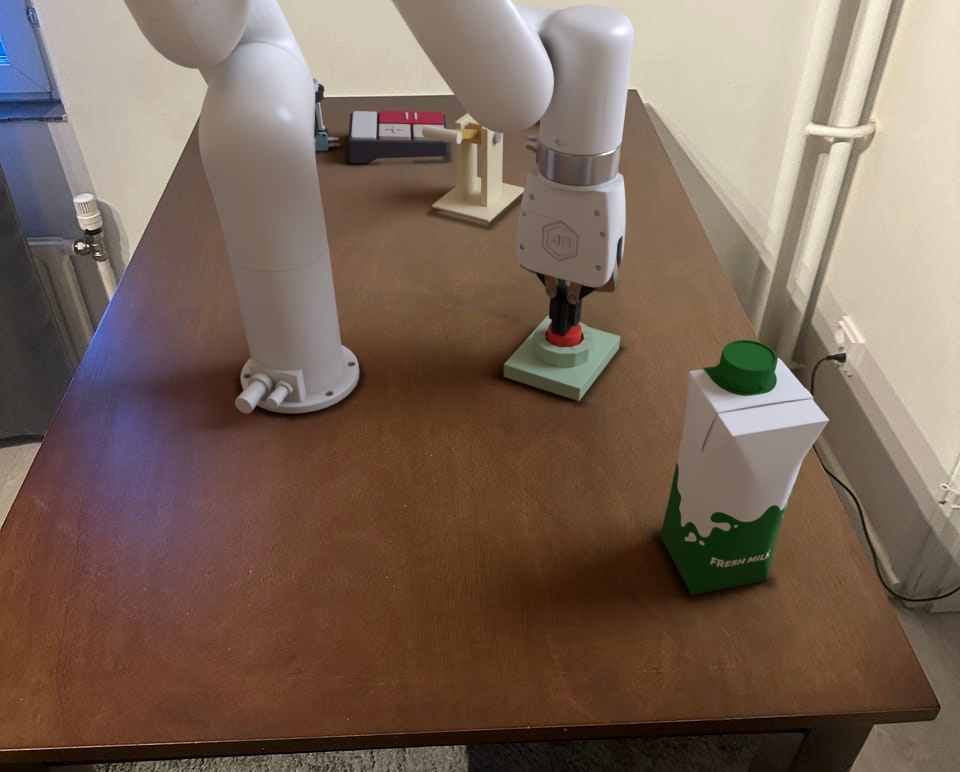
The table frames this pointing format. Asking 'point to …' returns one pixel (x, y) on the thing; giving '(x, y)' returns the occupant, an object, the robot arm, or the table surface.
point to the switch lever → (454, 133)
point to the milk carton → (737, 466)
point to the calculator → (393, 135)
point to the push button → (319, 129)
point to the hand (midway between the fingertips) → (563, 327)
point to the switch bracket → (478, 178)
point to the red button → (565, 337)
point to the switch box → (562, 361)
